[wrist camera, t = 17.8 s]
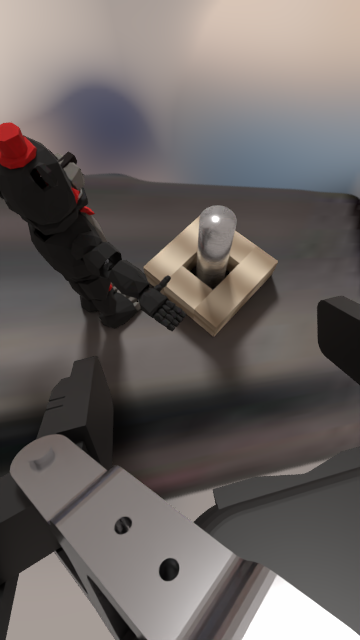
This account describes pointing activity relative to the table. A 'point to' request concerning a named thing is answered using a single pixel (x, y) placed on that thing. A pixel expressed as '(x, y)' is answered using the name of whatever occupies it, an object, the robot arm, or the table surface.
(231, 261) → the socket
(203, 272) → the pin
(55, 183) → the toy
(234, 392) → the table surface
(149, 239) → the table surface
